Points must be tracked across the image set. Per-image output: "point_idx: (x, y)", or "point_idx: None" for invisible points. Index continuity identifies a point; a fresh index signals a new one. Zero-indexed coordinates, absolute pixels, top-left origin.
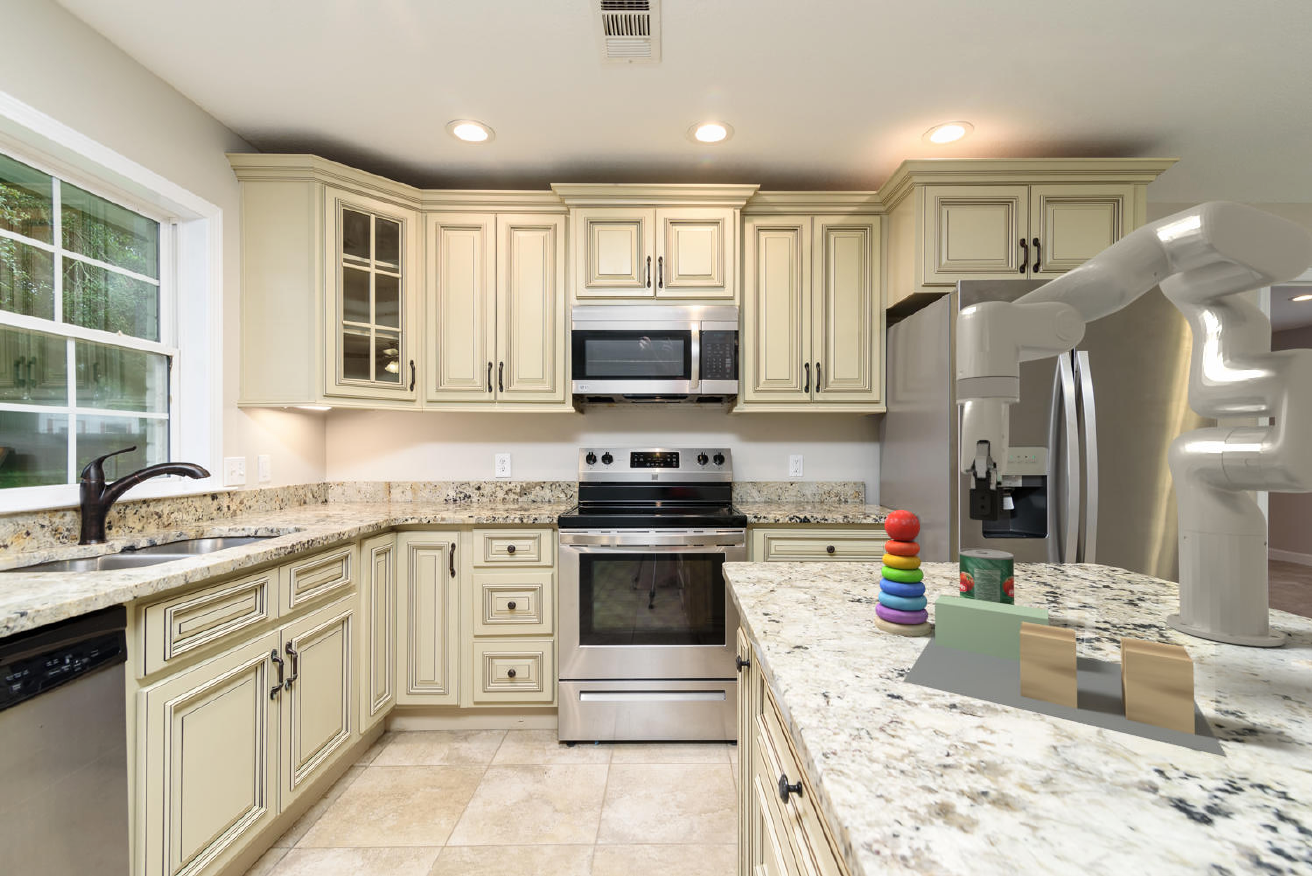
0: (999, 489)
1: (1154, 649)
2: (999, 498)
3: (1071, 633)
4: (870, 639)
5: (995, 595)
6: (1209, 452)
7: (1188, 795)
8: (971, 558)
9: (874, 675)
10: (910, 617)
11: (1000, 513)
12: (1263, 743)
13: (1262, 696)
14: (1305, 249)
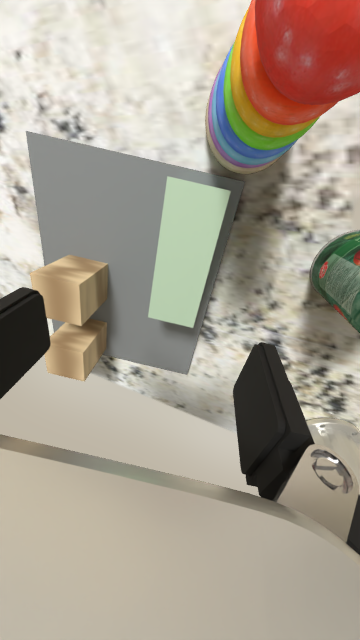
0: (243, 464)
1: (61, 362)
2: (240, 428)
3: (65, 320)
4: (186, 54)
5: (329, 289)
6: None
7: None
8: None
9: (38, 85)
10: (210, 131)
11: (235, 387)
12: (98, 366)
13: (176, 397)
14: None
